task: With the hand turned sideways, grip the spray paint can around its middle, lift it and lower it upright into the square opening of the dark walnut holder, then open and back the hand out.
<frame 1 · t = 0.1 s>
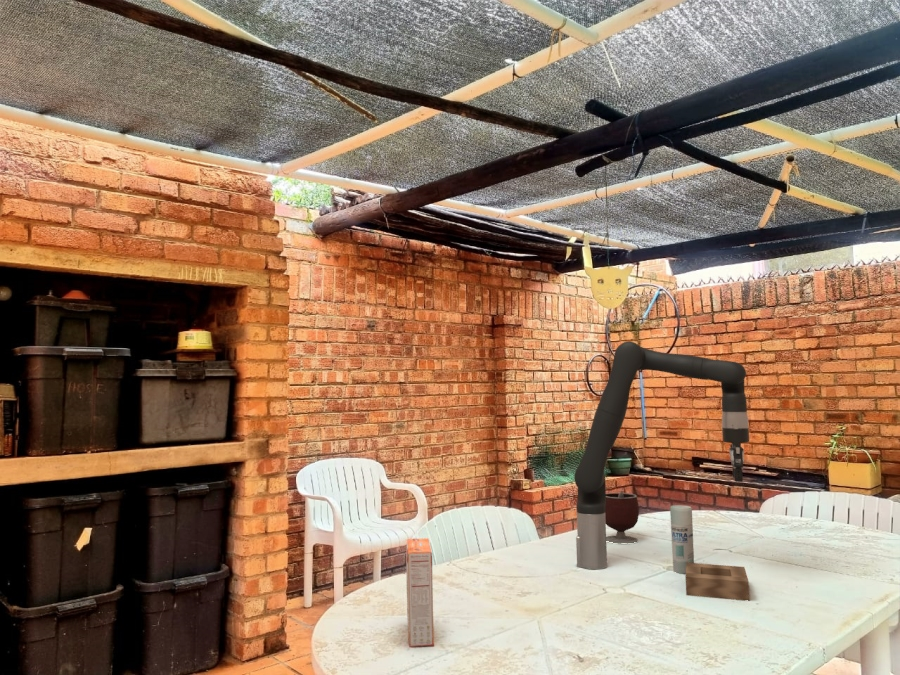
hand: (737, 479, 196), 29 cm above the table, tool pointing down, fingers open, 8 cm apart
cracker box: (419, 636, 149), on the table
spray paint can: (683, 572, 201), on the table
walnut holder: (716, 589, 182), on the table
mate gourd: (621, 541, 245), on the table
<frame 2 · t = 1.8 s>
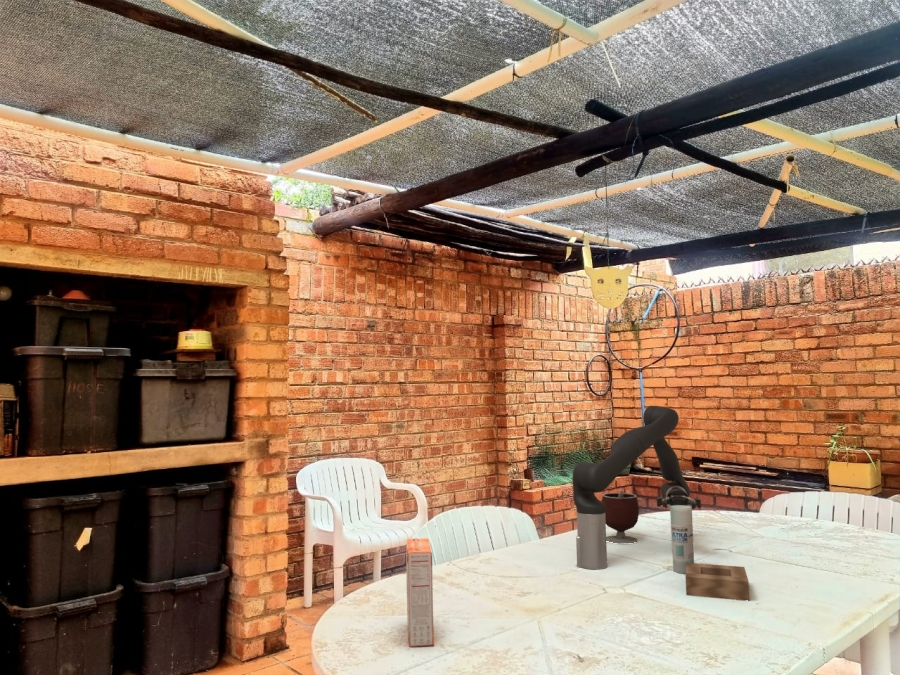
hand: (679, 505, 213), 19 cm above the table, tool horizontal, fingers open, 8 cm apart
nothing on the table moved.
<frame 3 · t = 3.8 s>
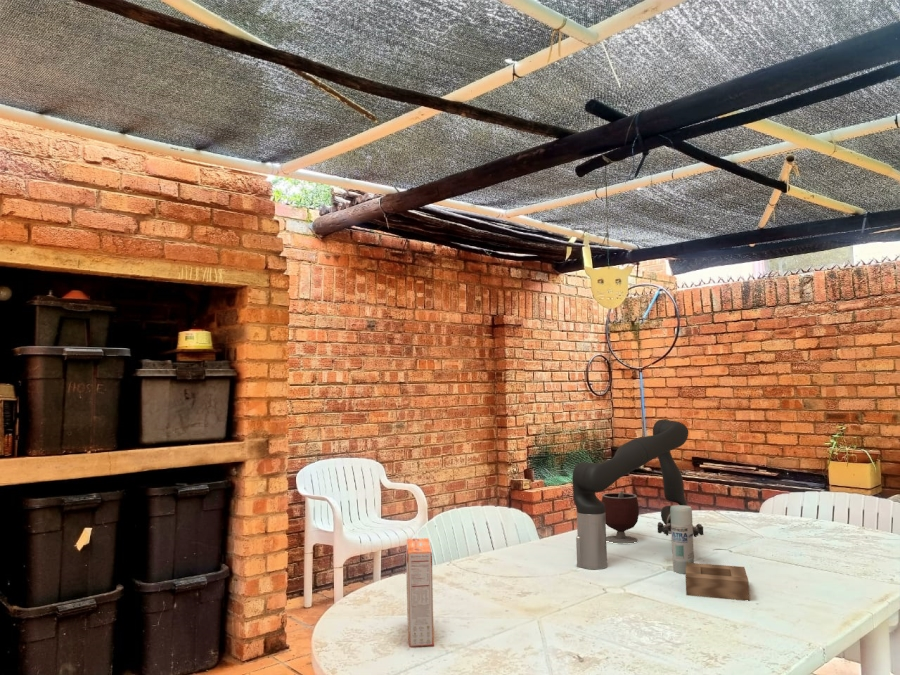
hand: (681, 533, 206), 11 cm above the table, tool horizontal, fingers open, 8 cm apart
nothing on the table moved.
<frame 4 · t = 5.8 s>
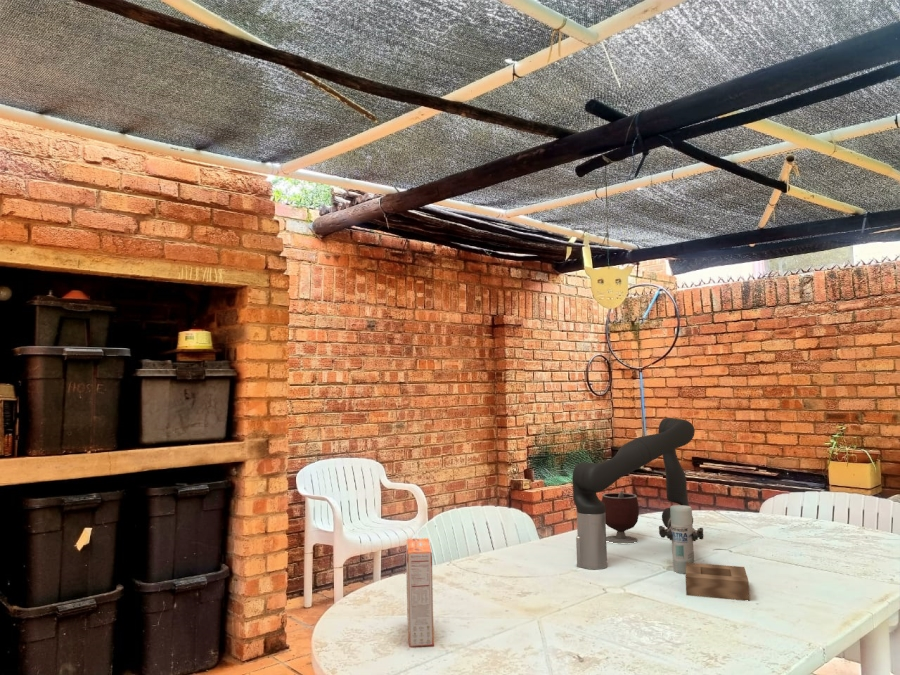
hand: (682, 537, 200), 11 cm above the table, tool horizontal, fingers closed on spray paint can, 6 cm apart
spray paint can: (683, 572, 201), on the table, touching gripper
everything else where it was.
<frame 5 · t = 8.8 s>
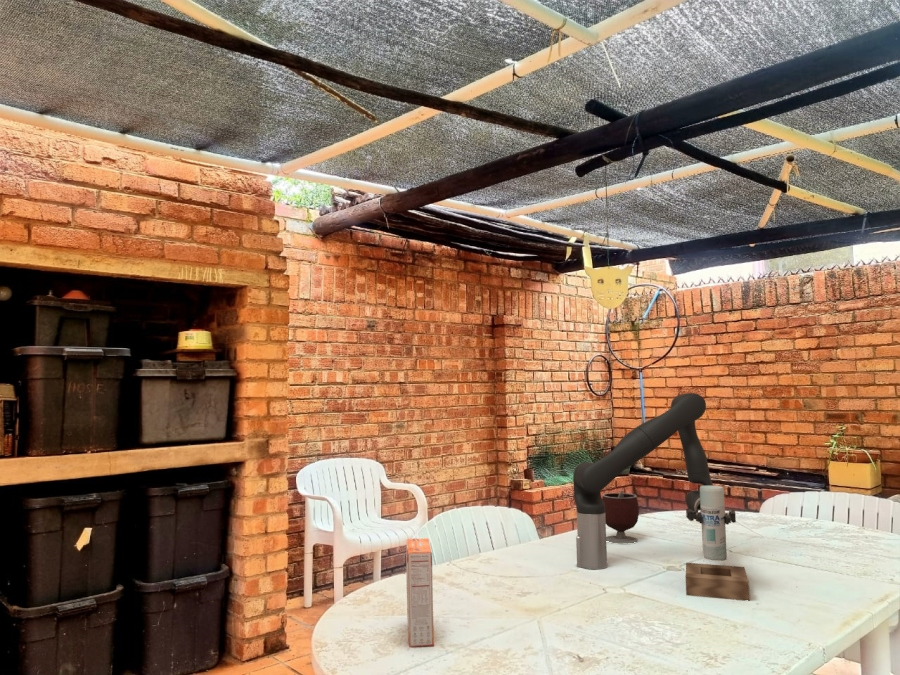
hand: (714, 520, 182), 20 cm above the table, tool horizontal, fingers closed on spray paint can, 6 cm apart
spray paint can: (715, 558, 183), point 8 cm above the table, touching gripper
everything else where it was.
when the fingers open (12 cm above the table, at t = 11.6 s): spray paint can drops 1 cm, resting in walnut holder.
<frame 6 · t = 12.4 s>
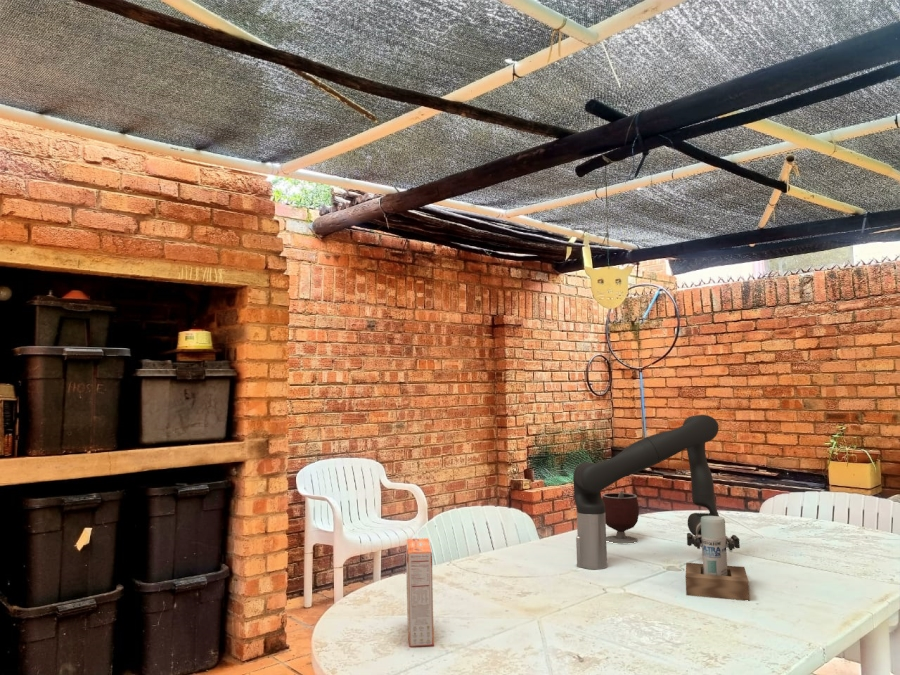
hand: (714, 546, 182), 12 cm above the table, tool horizontal, fingers open, 8 cm apart
spray paint can: (716, 590, 182), resting in walnut holder
everything else where it was.
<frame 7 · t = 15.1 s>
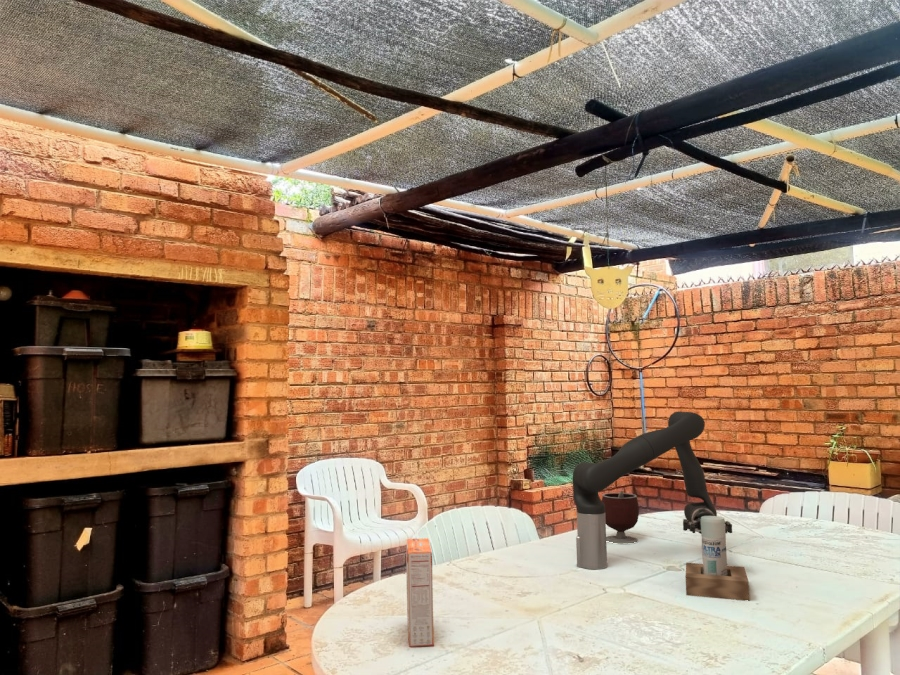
hand: (708, 530, 195), 14 cm above the table, tool horizontal, fingers open, 8 cm apart
nothing on the table moved.
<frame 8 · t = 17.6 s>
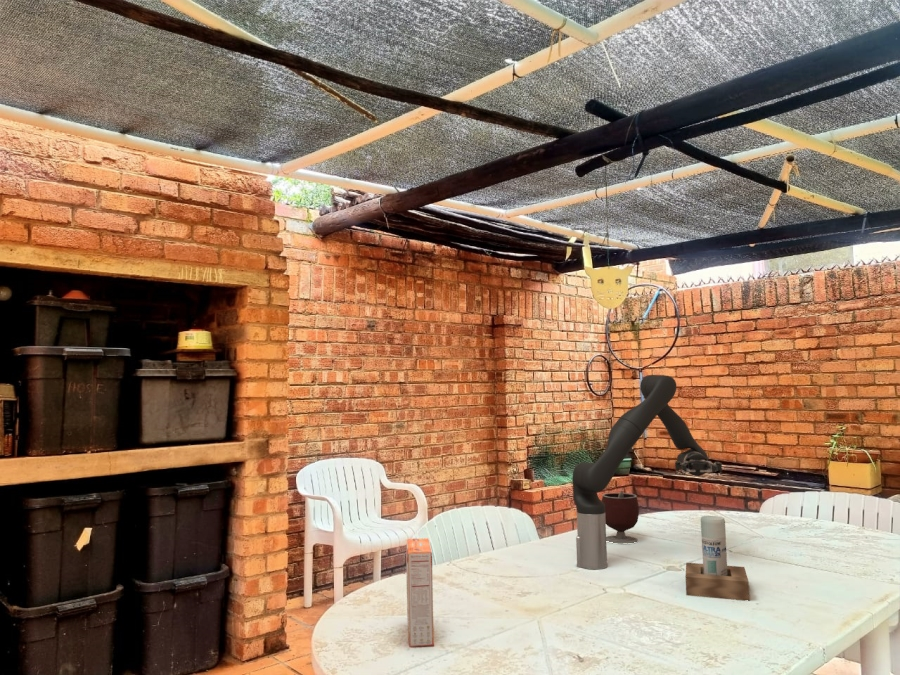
hand: (699, 468, 203), 32 cm above the table, tool horizontal, fingers open, 8 cm apart
nothing on the table moved.
at the end: spray paint can 0.2 cm off-centre on the walnut holder, point 0.0 cm above the walnut holder's base; spray paint can tilted 0°; the gripper is holding nothing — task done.
